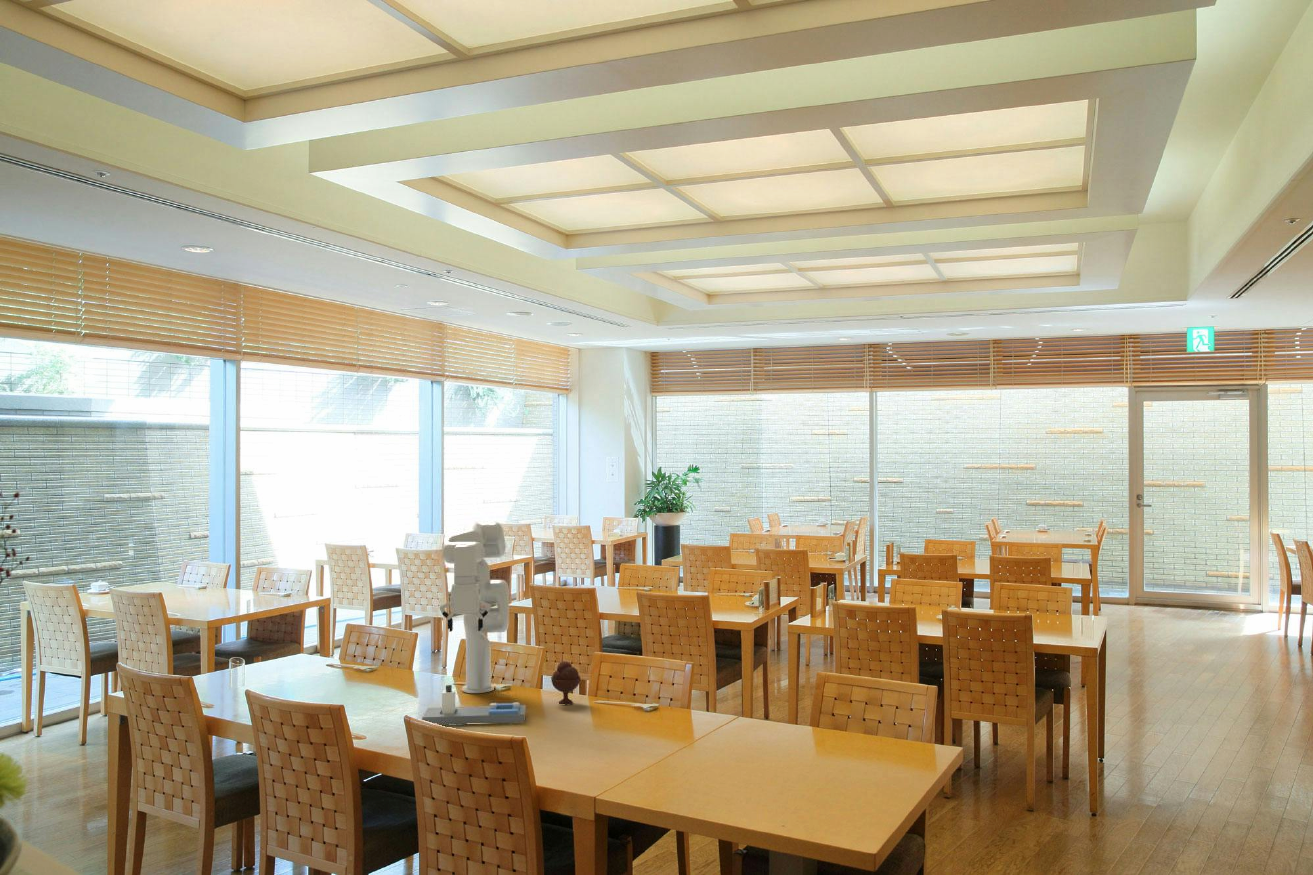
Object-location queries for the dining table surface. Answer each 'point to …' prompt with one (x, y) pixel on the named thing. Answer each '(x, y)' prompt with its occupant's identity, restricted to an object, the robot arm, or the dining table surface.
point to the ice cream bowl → (565, 680)
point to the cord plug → (448, 700)
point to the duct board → (478, 714)
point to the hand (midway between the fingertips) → (465, 630)
